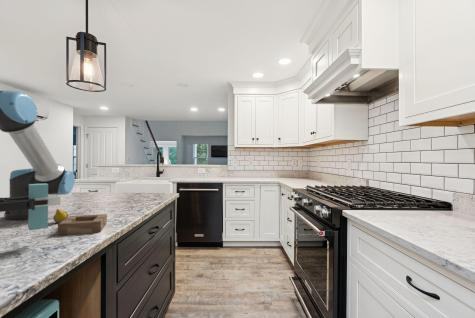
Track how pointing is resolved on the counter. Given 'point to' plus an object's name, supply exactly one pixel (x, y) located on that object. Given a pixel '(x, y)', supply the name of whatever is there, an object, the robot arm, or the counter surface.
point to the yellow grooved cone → (60, 216)
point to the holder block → (82, 224)
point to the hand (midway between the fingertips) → (58, 199)
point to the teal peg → (40, 214)
